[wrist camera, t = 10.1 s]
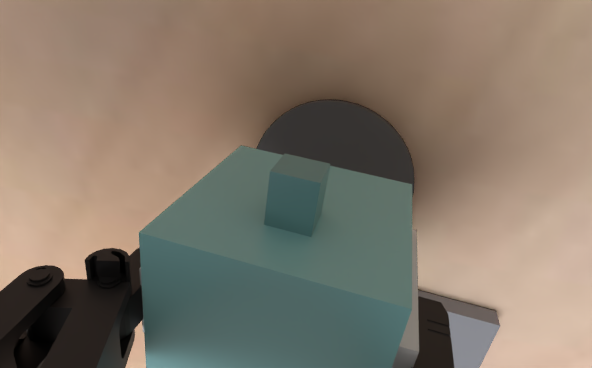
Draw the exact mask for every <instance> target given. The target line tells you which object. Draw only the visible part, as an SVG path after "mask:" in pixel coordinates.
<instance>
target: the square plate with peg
mask: <svg viewBox="0 0 592 368" xmlns="http://www.w3.org/2000/svg"><path fill="white" fill-rule="evenodd" d="M418 296H420V297H424V298H427V299H431V300H435V301H438V302H441V303H442V304H443V306H444V308H445V309H446V311H447V313H448V316H449V324H450V326H449V328H450V333H451V336H450V337H451V342H452V351H453V360H454V368H479V367H480V365H481V363H482V361H483V359H484V357H485V355H486V353H487V351H488V349H489V347H490V345H491V343H492V341H493V339H494V337H495V335H496V333H497V331H498V329H499V327H500V323H499V320H498V316H497V312H496V311H494V310H490V309H487V308H483V307H479V306H475V305H472V304H468V303H464V302H460V301H457V300H453V299H449V298H445V297H442V296H438V295H434V294H431V293H427V292H423V291H419V290H418Z"/></svg>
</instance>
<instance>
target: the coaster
mask: <svg viewBox="0 0 592 368" xmlns="http://www.w3.org/2000/svg"><path fill="white" fill-rule="evenodd" d="M257 149H259V150H263V151H268V152H272V153H277V154H281V155H284V154H289V155H294V156H298V157H303V158H307V159H312V160H316V161H320V162H325V163H329V164H330V166H334V167H338V168H343V169H347V170H351V171H356V172H360V173H365V174H369V175H373V176H378V177H382V178H387V179H391V180H395V181H400V182H404V183H409V184H412V197H413V192H414V170H413V164H412V160H411V156H410V154H409V151H408V148H407V146H406V145H405V143H404V141H403V139H402V138H401V136H400V135H399V134H398V132H397V131H396V130H395V129H394V128H393V127H392V126H391V125H390V124H389V123H388V122H387V121H386V120H385V119H384V118H382V117H381V116H380V115H378V114H377V113H375V112H373V111H372V110H370V109H368V108H366V107H363V106H361V105H358V104H355V103H351V102H348V101H341V100H318V101H312V102H308V103H305V104H302V105H299V106H297V107H295V108H293V109H291V110H289V111H288V112H286V113H284V114H283V115H282V116H281V117H280V118H278V119H277V120H276V121H275V122H274V123H273V124H272V125H271V126H270V127H269V128H268V129H267V131H266V132H265V134H264V135H263V137H262V138H261V140H260V142H259V144H258V146H257Z"/></svg>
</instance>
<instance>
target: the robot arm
mask: <svg viewBox="0 0 592 368" xmlns="http://www.w3.org/2000/svg"><path fill="white" fill-rule="evenodd" d="M85 265H86V273H87V279H85V280H83V279H64V273H63V271H62V270H61V269H60V268H58V267H55V266H48V265H45V266H38V267H35V268H32V269H29V270H27V271H25V272H24V273H22V274H21V275H19V276H18V277H17V278H16V279H15V280H13V281H12V282H11V283H10V284H9V285H7V286H6V287H5V288H4V289H3V290H2V291H0V368H125V367H126V364H127V360H128V357H129V354H130V351H131V348H132V345H133V342H134V337H135V330H134V329H135V328H136V326H137V325H138V324H139V323H140V322H141V321H142V325H143V332H144V316H143V298H142V280H141V262H140V247H139V248H138V249H136V250H135V251H134V252H133V253H132V254H131V255H130V256H129V255H128V254H127V252H125V251H123V250H121V249H115V248H109V249H102V250H99V251H96V252H94V253H92V254H90V255H89V256H88V257H87V258H86V259H85ZM449 326H450V324H449V316H448V313H447V311H446V309H445V308H444V306H443V304H442V303H441V302H438V301H435V300H431V299H427V298H424V297H420V296H418V265H417V230H415V229H412V311H411V314H410V317H409V319H408V322H407V325H406V328H405V331H404V334H403V337H402V339H401V342H400V345H399V348H398V351H397V354H396V357H395V359H394V362H393V365H392V368H454V360H453V351H452V342H451V337H450V336H451V333H450V328H449Z"/></svg>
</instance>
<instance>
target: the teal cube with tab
mask: <svg viewBox="0 0 592 368" xmlns="http://www.w3.org/2000/svg"><path fill="white" fill-rule="evenodd" d="M139 244H140V262H141V280H142V298H143V316H144V334H145V353H146V368H392V365H393V362H394V359H395V357H396V354H397V351H398V348H399V345H400V342H401V339H402V337H403V334H404V331H405V328H406V325H407V322H408V319H409V317H410V314H411V311H412V184H409V183H404V182H400V181H395V180H391V179H387V178H382V177H378V176H373V175H369V174H365V173H360V172H356V171H351V170H347V169H343V168H338V167H334V166H330V164H329V163H325V162H320V161H316V160H312V159H307V158H303V157H298V156H294V155H289V154H284V155H281V154H277V153H272V152H268V151H263V150H259V149H255V148H250V147H246V146H240V147H239V148H237V149H236V150H235V151H234V152H233V153H232V154H230V155H229V156H228V157H227V158H226V159H225V160H223V161H222V162H221V163H220V164H219V165H217V166H216V167H215V168H214V169H213V170H212V171H210V172H209V173H208V174H207V175H206V176H205V177H203V178H202V179H201V180H200V181H199V182H198V183H196V184H195V185H194V186H193V187H192V188H190V189H189V190H188V191H187V192H186V193H185V194H183V195H182V196H181V197H180V198H179V199H178V200H176V201H175V202H174V203H173V204H172V205H171V206H169V207H168V208H167V209H166V210H165V211H163V212H162V213H161V214H160V215H159V216H158V217H156V218H155V219H154V220H153V221H152V222H151V223H149V224H148V225H147V226H146V227H145V228H144V229H142V230H141V231H140V232H139Z"/></svg>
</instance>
